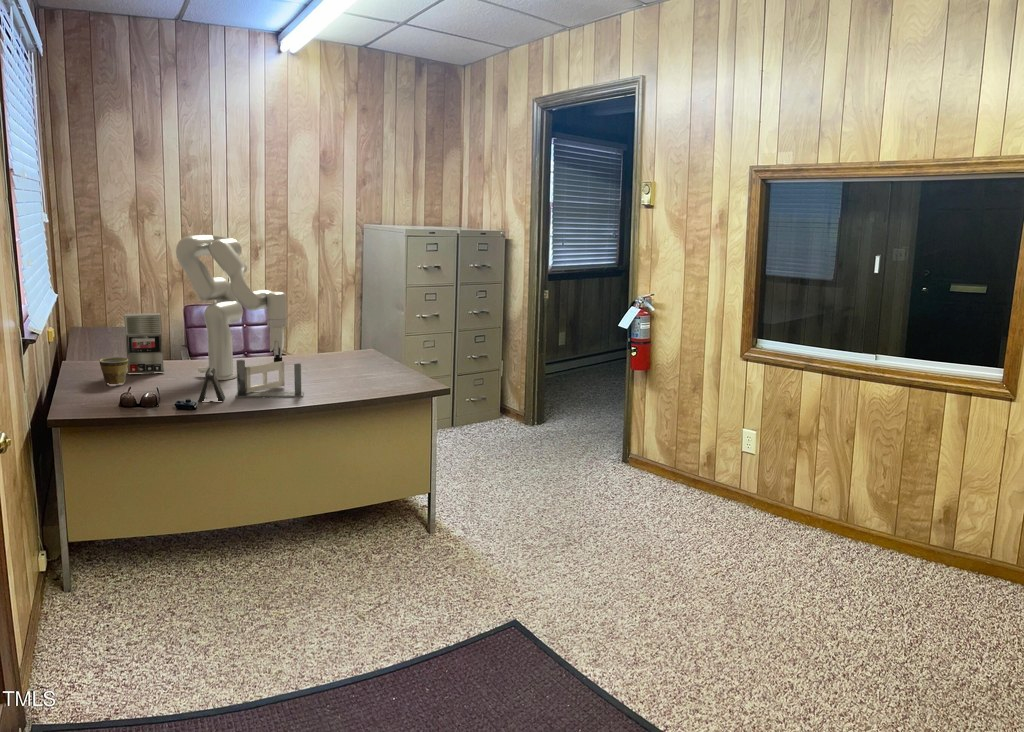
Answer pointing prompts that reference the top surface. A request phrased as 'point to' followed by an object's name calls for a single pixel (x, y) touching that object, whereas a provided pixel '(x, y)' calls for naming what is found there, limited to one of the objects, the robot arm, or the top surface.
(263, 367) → the gate
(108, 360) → the ceramic cup
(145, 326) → the cassette tape recorder
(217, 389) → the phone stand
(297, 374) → the gate frame
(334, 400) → the top surface
